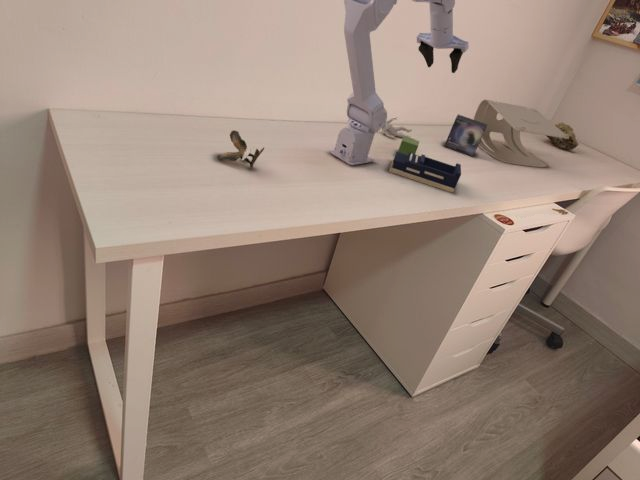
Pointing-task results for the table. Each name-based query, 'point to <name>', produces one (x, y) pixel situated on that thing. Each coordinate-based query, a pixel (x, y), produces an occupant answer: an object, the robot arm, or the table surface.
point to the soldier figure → (393, 129)
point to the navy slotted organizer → (426, 170)
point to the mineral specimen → (563, 142)
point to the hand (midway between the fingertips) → (442, 67)
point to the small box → (465, 135)
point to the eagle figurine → (240, 150)
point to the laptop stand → (513, 131)
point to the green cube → (408, 146)
